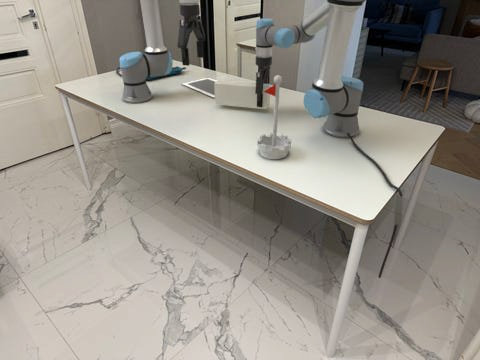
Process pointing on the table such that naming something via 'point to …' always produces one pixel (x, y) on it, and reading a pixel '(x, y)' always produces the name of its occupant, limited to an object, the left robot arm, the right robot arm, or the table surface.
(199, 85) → the tablet
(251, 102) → the box
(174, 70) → the submachine gun
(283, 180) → the table surface
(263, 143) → the flag stand
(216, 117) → the table surface
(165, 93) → the table surface
